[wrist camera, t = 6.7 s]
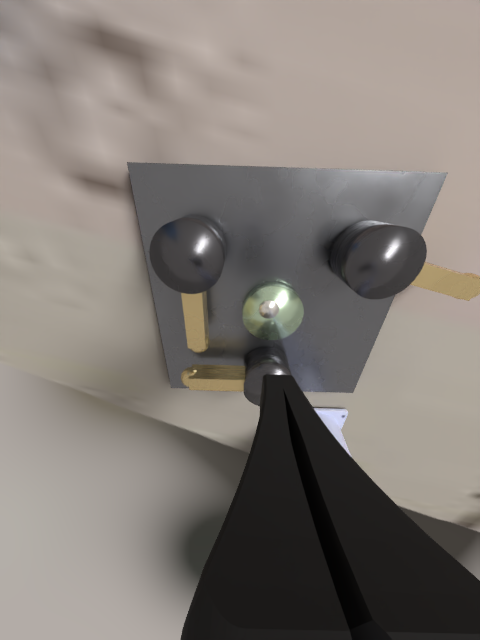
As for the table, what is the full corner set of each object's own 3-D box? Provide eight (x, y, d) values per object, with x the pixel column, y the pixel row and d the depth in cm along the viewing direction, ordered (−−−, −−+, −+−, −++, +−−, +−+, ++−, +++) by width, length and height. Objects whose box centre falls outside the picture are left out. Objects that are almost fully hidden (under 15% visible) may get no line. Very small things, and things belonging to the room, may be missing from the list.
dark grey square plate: (348, 384, 25) (358, 401, 22) (174, 379, 24) (167, 396, 22) (433, 174, 14) (465, 170, 12) (135, 164, 14) (117, 159, 12)
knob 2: (291, 347, 20) (298, 372, 17) (284, 381, 22) (290, 407, 20) (183, 344, 20) (174, 368, 17) (188, 378, 22) (180, 404, 20)
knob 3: (320, 274, 16) (335, 290, 14) (348, 212, 14) (374, 217, 12) (432, 304, 18) (468, 325, 15) (475, 251, 15) (525, 264, 13)
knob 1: (161, 214, 14) (142, 218, 12) (226, 215, 14) (223, 221, 12) (179, 336, 20) (168, 360, 17) (227, 337, 20) (224, 361, 17)
